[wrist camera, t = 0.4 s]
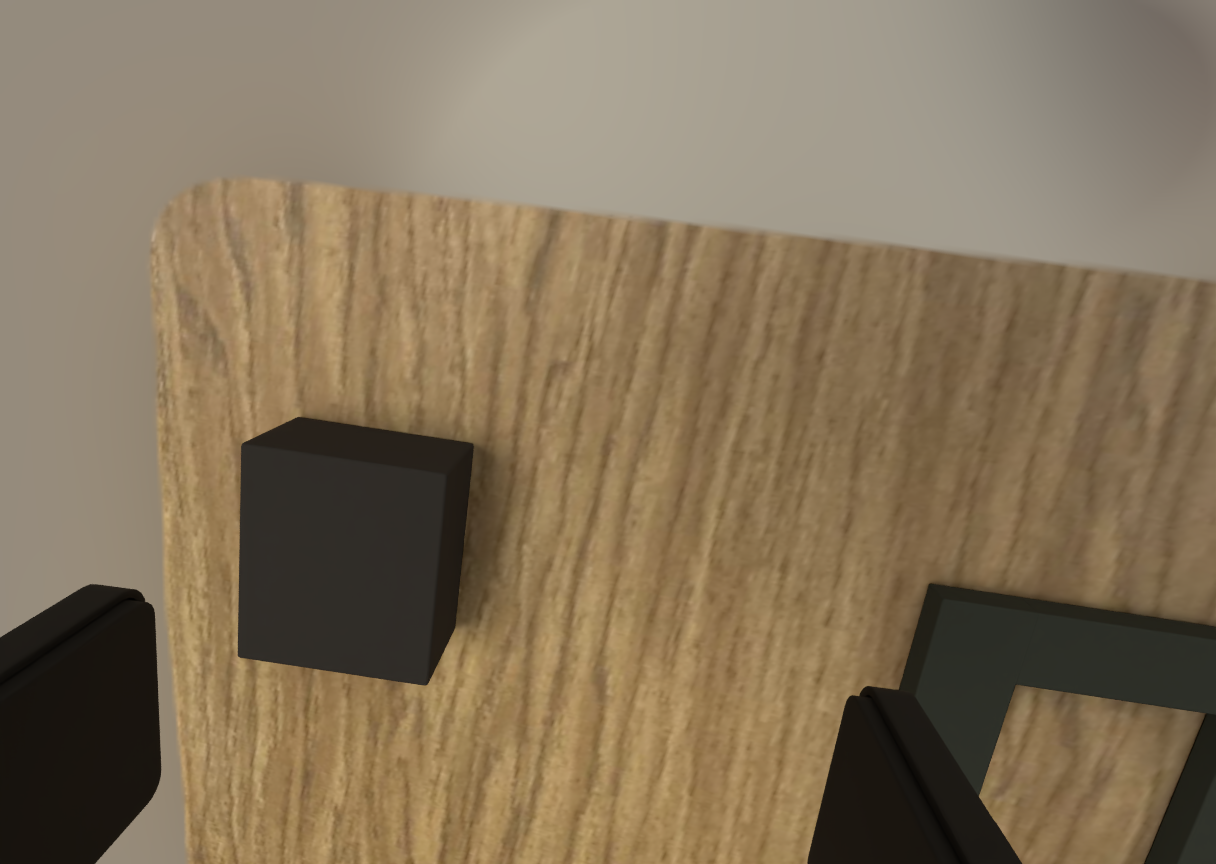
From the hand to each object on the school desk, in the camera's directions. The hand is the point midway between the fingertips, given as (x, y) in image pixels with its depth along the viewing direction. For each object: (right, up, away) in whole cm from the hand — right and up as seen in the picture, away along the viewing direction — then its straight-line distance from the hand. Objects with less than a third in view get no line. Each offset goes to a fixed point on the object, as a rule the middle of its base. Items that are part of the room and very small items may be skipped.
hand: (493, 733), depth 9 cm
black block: (-6, +1, +15) cm, 16 cm away
